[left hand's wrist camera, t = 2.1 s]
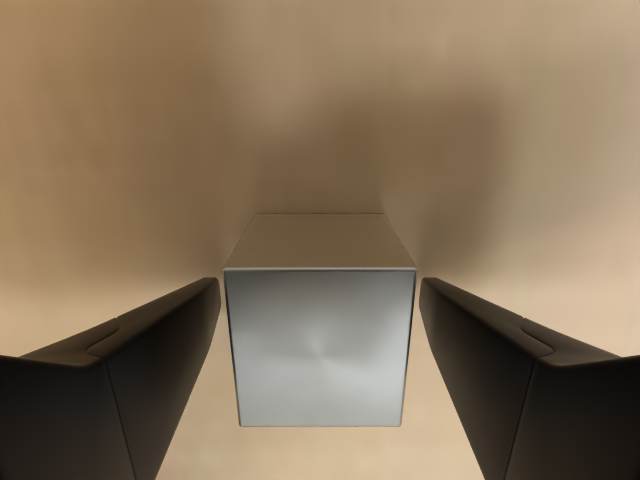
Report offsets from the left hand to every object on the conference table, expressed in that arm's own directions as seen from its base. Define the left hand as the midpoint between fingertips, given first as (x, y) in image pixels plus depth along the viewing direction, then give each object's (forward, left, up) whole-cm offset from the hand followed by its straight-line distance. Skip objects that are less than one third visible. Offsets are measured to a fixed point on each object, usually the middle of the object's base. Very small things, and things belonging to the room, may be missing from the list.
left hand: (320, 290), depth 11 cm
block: (0, 0, -1) cm, 1 cm away
